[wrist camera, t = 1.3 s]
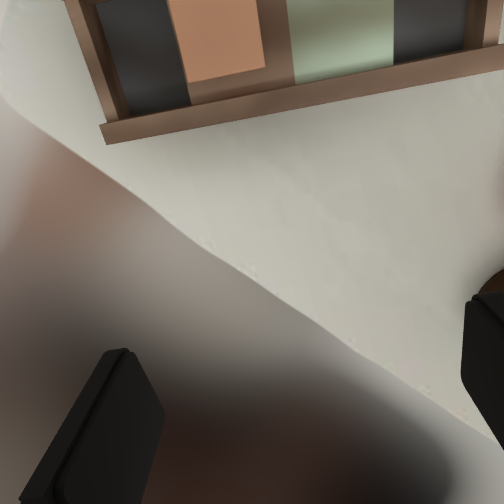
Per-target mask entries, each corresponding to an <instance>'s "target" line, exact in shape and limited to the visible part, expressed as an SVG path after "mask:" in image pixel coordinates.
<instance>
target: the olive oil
mask: <svg viewBox="0 0 504 504" xmlns="http://www.w3.org/2000/svg"><path fill="white" fill-rule="evenodd" d="M494 291H500V292H502V293H503V294H504V270H503V271H502V272H500V273H498V274H497V275H496V276H494V277H493V278H492V279H491V280H489V281H488V282H487V284H486V285H485V286H484V287H483V288H482V290H481V291H480V293H479V294H481V293H488V292H494Z"/></svg>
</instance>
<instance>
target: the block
mask: <svg viewBox="0 0 504 504" xmlns="http://www.w3.org/2000/svg"><path fill="white" fill-rule="evenodd" d="M168 1H169V5H170V9H171V13H172V18H173V22H174V26H175V30H176V34H177V38H178V42H179V46H180V51H181V55H182V59H183V63H184V67H185V71H186V75H187V80H188V83H192V82H200V81H205V80H209V79H214V78H219V77H224V76H228V75H233V74H238V73H243V72H248V71H252V70H257V69H262V68H266V66H265V59H264V52H263V45H262V39H261V32H260V25H259V18H258V11H257V4H256V0H168Z"/></svg>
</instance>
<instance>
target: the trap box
mask: <svg viewBox="0 0 504 504" xmlns="http://www.w3.org/2000/svg"><path fill="white" fill-rule="evenodd" d="M63 1H64V3H65V5H66V8H67V11H68V14H69V17H70V19H71V22H72V25H73V28H74V31H75V33H76V36H77V39H78V42H79V45H80V47H81V50H82V53H83V56H84V58H85V61H86V64H87V67H88V70H89V72H90V75H91V78H92V81H93V84H94V86H95V89H96V92H97V95H98V98H99V100H100V103H101V106H102V109H103V112H104V114H105V117H106V120H107V123H104V124H101V125H99V126H100V129H101V132H102V134H103V137H104V140H105V142H106V145H110V144H116V143H121V142H126V141H131V140H137V139H142V138H147V137H152V136H157V135H163V134H168V133H173V132H178V131H184V130H189V129H194V128H199V127H204V126H210V125H215V124H220V123H225V122H231V121H236V120H241V119H246V118H251V117H257V116H262V115H267V114H272V113H278V112H283V111H288V110H293V109H298V108H304V107H309V106H314V105H319V104H325V103H330V102H335V101H340V100H345V99H351V98H356V97H361V96H366V95H372V94H377V93H382V92H387V91H392V90H398V89H403V88H408V87H413V86H419V85H424V84H429V83H434V82H440V81H445V80H450V79H455V78H460V77H466V76H471V75H476V74H481V73H487V72H492V71H497V70H502V69H504V44H498V41H499V33H500V26H501V18H502V10H503V2H504V0H256V4H257V11H258V18H259V25H260V32H261V39H262V45H263V52H264V59H265V66H266V68H262V69H257V70H252V71H248V72H243V73H238V74H233V75H228V76H224V77H219V78H214V79H209V80H205V81H200V82H192V83H188V80H187V75H186V71H185V67H184V63H183V59H182V55H181V51H180V46H179V42H178V38H177V34H176V30H175V26H174V22H173V18H172V13H171V9H170V5H169V1H168V0H63Z"/></svg>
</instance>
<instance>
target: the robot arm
mask: <svg viewBox="0 0 504 504" xmlns="http://www.w3.org/2000/svg"><path fill="white" fill-rule="evenodd" d="M461 379H462V382H463V385H464V387H465V389H466V390H467V392H468V393H469V395H470V397H471V398H472V400H473V402H474V403H475V405H476V406H477V408H478V410H479V411H480V413H481V414H482V416H483V418H484V419H485V421H486V423H487V424H488V426H489V427H490V429H491V431H492V432H493V434H494V435H495V437H496V439H497V440H498V442H499V443H500V445H501V447H502V448H503V450H504V294H503V293H502V292H500V291H494V292H488V293H481V294H475V295H473V297H472V300H471V301H468V302H466V305H465V317H464V331H463V346H462V360H461ZM164 423H165V411H164V408H163V406H162V404H161V403H160V401H159V399H158V397H157V395H156V393H155V391H154V389H153V387H152V385H151V383H150V382H149V380H148V378H147V376H146V374H145V372H144V370H143V368H142V366H141V364H140V363H139V361H138V359H137V357H136V355H135V354H134V353H133V352H130V351H129V350H128V349H127V348H121V349H114V350H108V351H106V352H105V353H104V354H103V356H102V357H101V359H100V361H99V362H98V364H97V366H96V367H95V369H94V371H93V373H92V374H91V376H90V378H89V379H88V381H87V383H86V384H85V386H84V388H83V390H82V392H81V393H80V395H79V397H78V398H77V400H76V401H75V403H74V405H73V407H72V408H71V410H70V412H69V413H68V415H67V417H66V419H65V420H64V422H63V424H62V425H61V427H60V429H59V430H58V433H57V434H56V436H55V437H54V439H53V441H52V442H51V444H50V446H49V447H48V449H47V451H46V453H45V454H44V456H43V458H42V459H41V461H40V463H39V465H38V466H37V468H36V470H35V471H34V473H33V475H32V476H31V478H30V480H29V482H28V483H27V485H26V487H25V488H24V490H23V492H22V494H21V495H20V497H19V500H20V501H21V504H141V501H142V497H143V494H144V491H145V487H146V484H147V481H148V477H149V473H150V470H151V467H152V464H153V460H154V457H155V454H156V450H157V447H158V443H159V440H160V437H161V433H162V430H163V427H164Z"/></svg>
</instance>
